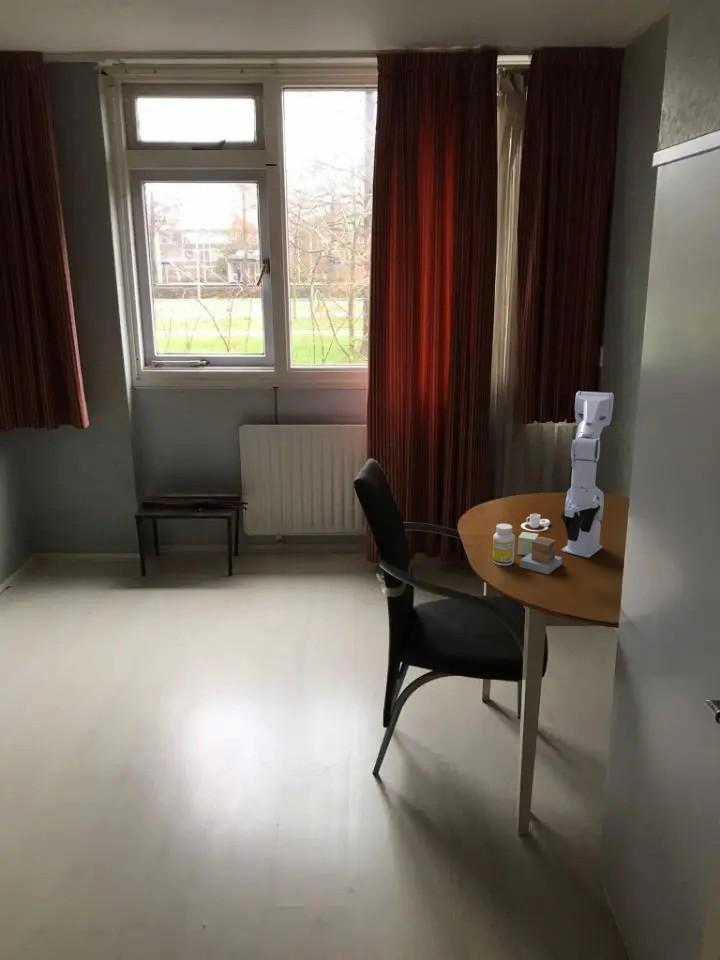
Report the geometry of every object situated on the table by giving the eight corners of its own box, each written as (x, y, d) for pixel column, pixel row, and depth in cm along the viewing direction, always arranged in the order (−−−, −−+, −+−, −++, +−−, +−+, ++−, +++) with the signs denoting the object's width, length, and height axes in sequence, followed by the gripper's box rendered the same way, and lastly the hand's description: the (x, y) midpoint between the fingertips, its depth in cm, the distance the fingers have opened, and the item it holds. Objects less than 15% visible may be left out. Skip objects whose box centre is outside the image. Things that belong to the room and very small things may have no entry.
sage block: (521, 548, 214) (522, 531, 213) (537, 550, 213) (538, 533, 211) (517, 554, 211) (518, 537, 209) (534, 556, 209) (535, 539, 207)
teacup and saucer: (548, 523, 234) (549, 511, 233) (552, 533, 226) (553, 520, 225) (519, 523, 235) (520, 510, 233) (522, 532, 227) (523, 519, 226)
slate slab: (533, 558, 208) (534, 550, 208) (561, 566, 204) (561, 557, 203) (519, 568, 203) (520, 559, 202) (547, 576, 198) (548, 567, 197)
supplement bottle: (498, 556, 209) (500, 520, 206) (517, 561, 206) (519, 525, 203) (488, 562, 205) (489, 526, 202) (507, 568, 202) (509, 531, 199)
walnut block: (538, 553, 205) (540, 536, 204) (554, 557, 203) (555, 540, 201) (531, 559, 202) (532, 541, 200) (547, 563, 199) (548, 545, 198)
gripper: (586, 495, 184) (581, 548, 188) (610, 481, 195) (605, 531, 199) (558, 489, 188) (555, 541, 192) (583, 476, 199) (579, 525, 203)
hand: (578, 535), depth 196 cm, fingers open, 7 cm apart
